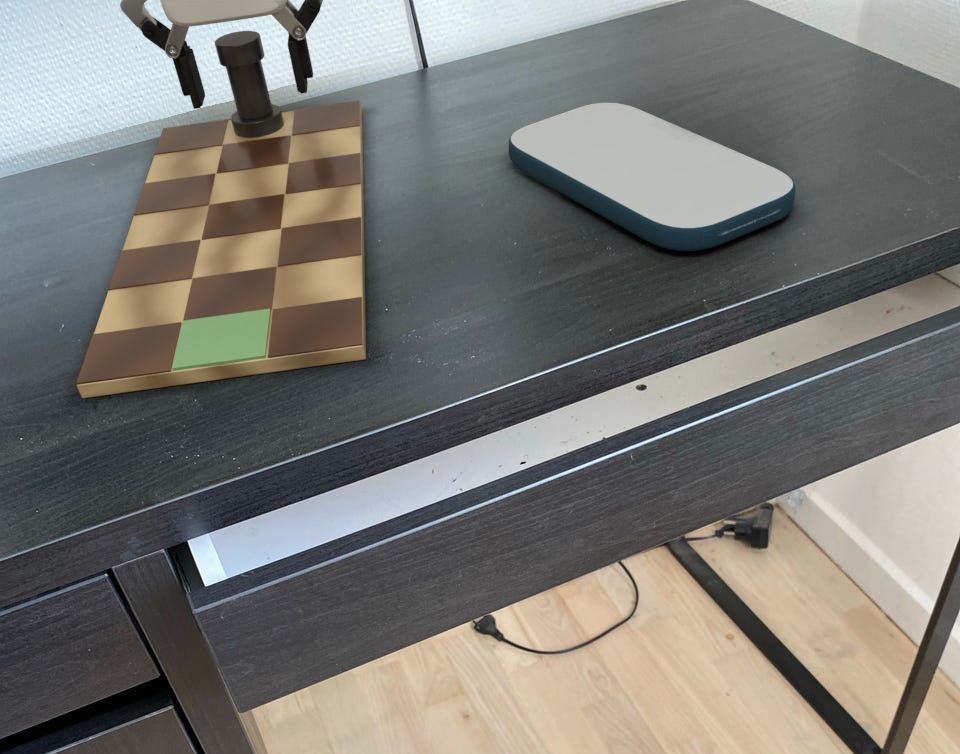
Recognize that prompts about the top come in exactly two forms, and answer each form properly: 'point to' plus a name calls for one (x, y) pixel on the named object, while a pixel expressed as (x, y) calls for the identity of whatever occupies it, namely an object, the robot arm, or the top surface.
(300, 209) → the chessboard
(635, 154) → the external hard drive
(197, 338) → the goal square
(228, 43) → the rook
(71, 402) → the top surface
